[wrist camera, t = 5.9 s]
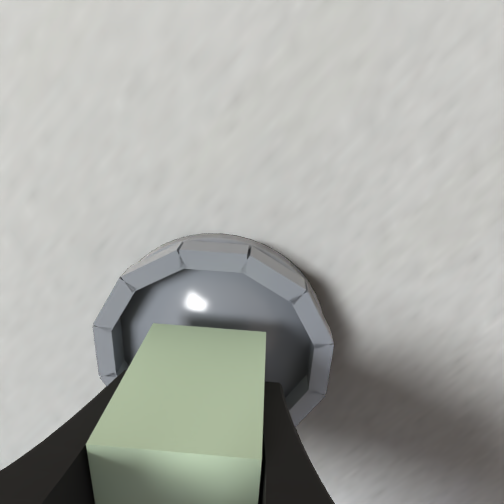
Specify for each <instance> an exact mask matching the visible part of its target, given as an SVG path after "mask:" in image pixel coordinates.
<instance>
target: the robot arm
mask: <svg viewBox="0 0 504 504" xmlns="http://www.w3.org/2000/svg"><path fill="white" fill-rule="evenodd" d="M126 371H127V370H124V371H123V372H122V373H121V374H119V375H118V376H117V377H116V378H115V379H114V380H113V381H112V382H111V383H110V384H109V385H108V386H106V387H105V388H104V389H103V390H102V391H101V392H100V393H99V394H98V395H97V396H96V397H95V398H93V399H92V400H91V401H90V402H89V403H88V404H87V405H86V406H84V407H83V408H82V409H81V410H80V411H79V412H78V413H76V414H75V415H74V416H73V417H72V418H71V419H70V420H68V421H67V422H66V423H65V424H63V425H62V426H61V427H60V428H58V429H57V430H56V431H55V432H54V433H52V434H51V435H50V436H49V437H47V438H46V439H45V440H44V441H42V442H41V443H40V444H38V445H37V446H36V447H34V448H33V449H32V450H30V451H29V452H27V453H26V454H25V455H23V456H22V457H20V458H19V459H17V460H16V461H15V462H13V463H12V464H10V465H9V466H7V467H6V468H4V469H3V470H1V471H0V504H95V499H94V493H93V486H92V480H91V474H90V467H89V461H88V455H87V448H86V443H87V441H88V439H89V438H90V436H91V434H92V432H93V430H94V429H95V427H96V425H97V423H98V421H99V420H100V418H101V416H102V414H103V412H104V411H105V409H106V407H107V405H108V403H109V402H110V400H111V398H112V396H113V394H114V393H115V391H116V389H117V387H118V385H119V384H120V382H121V380H122V378H123V376H124V375H125V373H126ZM258 504H335V503H334V502H333V500H332V498H331V497H330V495H329V494H328V492H327V490H326V488H325V487H324V485H323V483H322V482H321V480H320V478H319V476H318V474H317V473H316V471H315V469H314V467H313V465H312V463H311V461H310V459H309V457H308V455H307V453H306V451H305V449H304V446H303V444H302V442H301V440H300V438H299V435H298V433H297V430H296V428H295V426H294V423H293V421H292V418H291V415H290V412H289V409H288V407H287V403H286V400H285V397H284V392H283V388H282V385H281V384H280V383H278V382H266V381H265V382H264V411H263V440H262V463H261V475H260V486H259V497H258Z"/></svg>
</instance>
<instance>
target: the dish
mask: <svg viewBox="0 0 504 504" xmlns="http://www.w3.org/2000/svg"><path fill="white" fill-rule="evenodd" d="M153 323H157V324H170V325H183V326H196V327H209V328H222V329H235V330H248V331H261V332H266V353H265V381H266V382H278V383H280V384H281V385H282V388H283V392H284V397H285V400H286V403H287V407H288V409H289V412H290V415H291V418H292V421H293V423H294V426H295V427H296V426H297V425H298V424H299V423H300V422H301V421H302V420H303V419H304V418H305V417H306V416H307V414H308V413H309V412H310V411H311V410H312V409H313V408H314V407H315V406H316V405H317V404H318V403H319V402H320V401H321V400H322V399H323V398H324V397H325V394H326V392H327V385H328V379H329V373H330V367H331V361H332V355H333V348H334V342H333V338H332V334H331V330H330V327H329V325H328V323H327V321H326V319H325V317H324V315H323V313H322V309H321V305H320V302H319V300H318V297H317V295H316V293H315V291H314V289H313V288H312V286H311V284H310V283H309V281H308V280H307V278H306V277H305V276H304V275H303V273H302V272H301V271H300V270H299V269H298V268H297V267H296V266H295V265H294V264H293V263H292V262H291V261H289V260H288V259H287V258H285V257H284V256H283V255H281V254H280V253H278V252H277V251H275V250H273V249H271V248H269V247H268V246H266V245H264V244H261V243H258V242H256V241H253V240H251V239H247V238H243V237H239V236H235V235H227V234H198V235H190V236H186V237H182V238H179V239H175V240H173V241H170V242H168V243H166V244H163V245H161V246H160V247H158V248H156V249H155V250H153V251H151V252H150V253H149V254H147V255H146V256H145V257H144V258H142V259H141V260H140V261H139V262H138V263H136V264H134V265H132V266H130V267H129V268H128V269H127V270H126V271H125V272H124V273H123V275H122V276H121V277H120V278H119V279H118V281H117V283H116V285H115V286H114V288H113V290H112V292H111V293H110V295H109V297H108V299H107V301H106V302H105V304H104V306H103V308H102V309H101V311H100V313H99V315H98V316H97V318H96V320H95V322H94V323H93V324H94V325H93V333H94V341H95V349H96V357H97V364H98V372H99V376H101V377H100V379H101V380H102V381H103V382H104V384H105V385H106V386H108V385H109V384H110V383H111V382H112V381H113V380H114V379H115V378H116V377H117V376H118V375H119V374H121V373H122V372H123V371H124V370H127V369H128V367H129V366H130V364H131V362H132V360H133V358H134V357H135V355H136V353H137V351H138V349H139V348H140V346H141V344H142V342H143V340H144V339H145V337H146V335H147V333H148V331H149V330H150V328H151V326H152V324H153Z"/></svg>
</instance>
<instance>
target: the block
mask: <svg viewBox="0 0 504 504" xmlns="http://www.w3.org/2000/svg"><path fill="white" fill-rule="evenodd" d="M265 353H266V332H261V331H248V330H235V329H222V328H209V327H196V326H183V325H170V324H157V323H153V324H152V326H151V328H150V330H149V331H148V333H147V335H146V337H145V339H144V340H143V342H142V344H141V346H140V348H139V349H138V351H137V353H136V355H135V357H134V358H133V360H132V362H131V364H130V366H129V367H128V369H127V371H126V373H125V375H124V376H123V378H122V380H121V382H120V384H119V385H118V387H117V389H116V391H115V393H114V394H113V396H112V398H111V400H110V402H109V403H108V405H107V407H106V409H105V411H104V412H103V414H102V416H101V418H100V420H99V421H98V423H97V425H96V427H95V429H94V430H93V432H92V434H91V436H90V438H89V439H88V441H87V443H86V448H87V455H88V461H89V467H90V474H91V480H92V486H93V493H94V499H95V504H258V497H259V486H260V475H261V463H262V440H263V411H264V382H265Z"/></svg>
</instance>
